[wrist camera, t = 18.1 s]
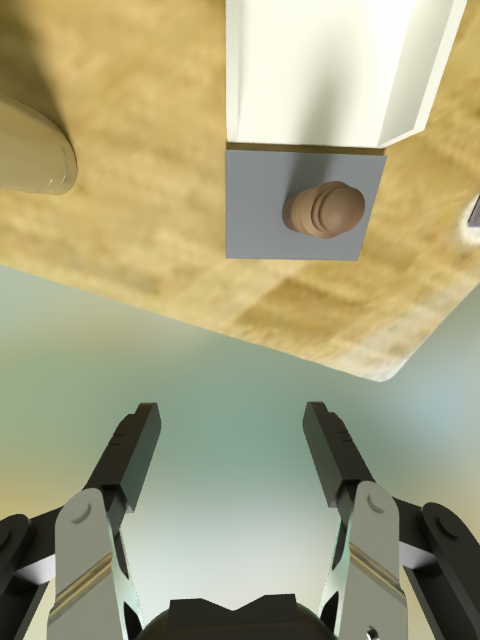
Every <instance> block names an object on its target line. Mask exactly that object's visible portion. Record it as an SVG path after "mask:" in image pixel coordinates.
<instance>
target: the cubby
mask: <svg viewBox="0 0 480 640" xmlns="http://www.w3.org/2000/svg"><path fill="white" fill-rule="evenodd" d="M466 3H467V0H226V122H227V136H228V142H233V143H258V144H283V145H307V146H332V147H357V148H381V149H382V148H384V147H387V146H389V145H391V144H393V143H396V142H398V141H400V140H402V139H405V138H407V137H409V136H411V135H413V134H416V133H418V132H420V131H422V130H424V128H425V125H426V122H427V119H428V116H429V113H430V110H431V107H432V104H433V101H434V98H435V95H436V92H437V90H438V87H439V84H440V81H441V78H442V75H443V72H444V69H445V66H446V63H447V60H448V57H449V54H450V51H451V48H452V45H453V42H454V39H455V36H456V33H457V30H458V27H459V24H460V21H461V18H462V15H463V12H464V9H465V6H466Z"/></svg>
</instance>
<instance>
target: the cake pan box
mask: <svg viewBox="0 0 480 640" xmlns="http://www.w3.org/2000/svg"><path fill="white" fill-rule="evenodd" d="M468 227H480V198H479V201H478V203H477V205H476V208H475V210H474V212H473V214H472V217H471V219H470V221H469V224H468Z"/></svg>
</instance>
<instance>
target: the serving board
mask: <svg viewBox="0 0 480 640" xmlns="http://www.w3.org/2000/svg"><path fill="white" fill-rule="evenodd" d="M225 155H226V258H234V259H287V260H340V261H358V257H359V254H360V250H361V247H362V243H363V240H364V236H365V232H366V229H367V225H368V222H369V218H370V215H371V211H372V208H373V204H374V201H375V197H376V194H377V190H378V187H379V183H380V180H381V176H382V172H383V169H384V165H385V162H386V158H387V156H378V155H353V154H327V153H302V152H276V151H251V150H225ZM331 181H340V182H344V183H346V184H347V185H348V186H350V187H353V188H356V189H358V190H359V191H360V192H361V193H362V194H363V196H364V199H365V211H364V214H363V217H362V219H361V220H360V222H359V223H358V224H357V225H356V226H355V227H354V228H353V229H351V230H350V231H347V232H344V233H341V234H339V235H337V236H336V237H333V238H329V239H322V238H318V237H314V236H310V235H307V234H303V233H300V232H296V231H292V230H290V229H289V228H287V227H286V225H285V224H284V222H283V219H282V209H283V206H284V204H285V202H286V200H287V199H288V198H289V197H290V196H291V195H293V194H295V193H297V192H300V191H303V190H306V189H309V188H312V187H315V186H318V185H321V184H324V183H327V182H331Z"/></svg>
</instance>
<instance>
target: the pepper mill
mask: <svg viewBox="0 0 480 640" xmlns="http://www.w3.org/2000/svg"><path fill="white" fill-rule="evenodd" d="M364 211H365V199H364V196H363V194H362V193H361V192H360V191H359V190H358V189H356V188H353V187H350V186H348V185H347V184H346V183H344V182H340V181H331V182H327V183H324V184H321V185H318V186H315V187H312V188H309V189H306V190H303V191H300V192H297V193H295V194H293V195H291V196H290V197H289V198H288V199H287V200H286V202H285V204H284V206H283V209H282V219H283V222H284V224H285V225H286V227H287V228H289V229H290V230H292V231H296V232H300V233H303V234H307V235H310V236H314V237H318V238H322V239H329V238H333V237H336V236H337V235H339V234H341V233H344V232H347V231H350V230H351V229H353V228H354V227H355V226H356V225H357V224H358V223H359V222H360V220H361V219H362V217H363V214H364Z"/></svg>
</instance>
